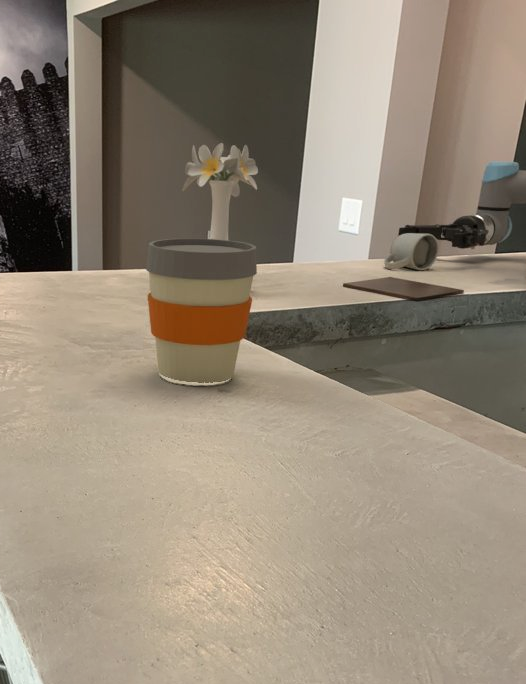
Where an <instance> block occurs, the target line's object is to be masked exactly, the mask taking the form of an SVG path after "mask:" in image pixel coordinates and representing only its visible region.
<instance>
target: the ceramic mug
mask: <svg viewBox="0 0 526 684" xmlns="http://www.w3.org/2000/svg"><path fill="white" fill-rule="evenodd" d="M438 253H439V243H438V240H437V239H436V238H435V237H434V236H433V235H431V234H415V233H406V234H402V235H399V236H398V235H397V236H396V237H395V238H394V240H393V241H392V243H391V246H390V251H389V254H390V255H388V256H386V257H385V258H384V260H383V264H384V267H385V269H387V270H397V269H402V268H408V269H411V270H416V271H426V270H428V269H430V267H432V266H433V265H434V264H435V262H436V259H437V257H438Z"/></svg>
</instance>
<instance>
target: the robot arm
mask: <svg viewBox="0 0 526 684" xmlns="http://www.w3.org/2000/svg"><path fill="white" fill-rule="evenodd" d="M512 204H524V205H526V170H523V169H520V165H519V163H518V162H516V161H498V160H497V161H495V160H494V161H493V160H492V161H489V162H488V163H487V164H486V166H485V170H484V172H483V176H482V180H481V186H480V194H479V197H478V204H477V208H476V211H475V212H476V213H475V214H471V215H463V216H460V217H458V218H456V219H455V220H454V221H453V222H452V223H449V224H438V223H437V224H405V226H404V227H399V229H398V234H397V237H398V236H399V235H402V234H406V233H415V234H431V235H433V236H434V237H435V238H436V240H437V241H448V242H450V243H451V247H452V248H457V249H461V250H462V249H465V250H466V249H470V250H475V248H477V247H483V246H492V245H496V244H499V243H501V242H503V241H505V240H506V239H507V238H508V237H509V236H510V235H511V233H512V230H513V222H512V219H511V217H510V216H509V213H510V209H511V205H512Z"/></svg>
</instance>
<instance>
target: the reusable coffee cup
mask: <svg viewBox="0 0 526 684" xmlns="http://www.w3.org/2000/svg"><path fill="white" fill-rule="evenodd" d="M257 264H258V263H257V246H256V245H254V244H251V243H249V242H244V241H237V240H219V239H209V238H194V237H193V238H188V237H187V238H185V237H184V238H165V239H157V240H152V241H150V242H149V243H148V249H147V255H146V265H145V270H146V271H147V272H148V277H149V287H150V292H149V293H148V294H147V304H148V312H149V313H148V314H149V324H150V333H151V335H152V336H153V337H154V339H155V349H156V360H157V361H156V362H157V371H159V372H158V374H159V373H160V374H161V375H163V376H165V377H168V378H171V379H174V380H179V381H186V382H198V383H204V382H205V383H209V382H210V383H213V382H222V381H226V380H228V379H230V378H232V377H233V378H232V380H233V379H234V374H235V370H236V364H237V361H238V360H237V359H238V355H239V349H240V344H241V341H242V340H243V339H245V337H246V332H247V328H248V323H249V318H250V313H251V308H252V303H253V297H252V296H250V294H251V290H252V285H253V281H254V280H253V279H254V276H256V275H257V273H258V270H257V269H258V268H257V267H258V265H257ZM162 380H164V379H162ZM232 380H230V381H228V382H226V383H223V384H218V385H217V386H220V385H225V384H227V383H230V382H231V381H232ZM164 381H165V382H168V383H171V384H175V385H179V386H183V385H182V384H177V383H173V382H169V381H166V380H164ZM185 386H188V387H192V386H191V385H185ZM214 386H216V385H209V386H208V387H214Z"/></svg>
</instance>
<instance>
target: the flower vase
mask: <svg viewBox="0 0 526 684" xmlns="http://www.w3.org/2000/svg"><path fill="white" fill-rule="evenodd" d="M224 150H225V149H224V143H223V142H220V143H218V144H217V145H216V146H215V147H214V149H213V151H212V153H211V151H210V149H209V147H208V146H207V145H206V144H202V145H200V147H199V148H198V153H197V152H196V147H195V145H194V144H193V145H192V149H191V160H192V162H191V161H188V162H187V163H186V164H185V167H184V174H185V175H186V176H188V177H187V179H186V180H185V181H184V184H183V187H182V190H181V192H182V193H183V192H184V191H185V190H186V189H187V188H188V187H189V186H190V185H191V184H192V183H193V182H194V181H195V180H196V184H197V185H198V186H199V187H201V188H202V187H204V186H205V185H206V184H207V182H208V183H209V186H210V192H211V201H212V202H211V205H212V206H211V219H210V231H209V237H208V239H219V240H229V212H230V203H231V196H233V197H234V198H237V197H239V196H240V195H241V194H240V193H241V188H240V185H239V181H242V182H243V183H245V184H247V185H249V186H251V187H252V188H253V189H255V190H256V191H257V190H258V185H257V183H256V181H255V179H254V178H253V177H252V176H255V175H257V174H258V173H259V169H258V166H257V165H256V160H255V159H254V158H249V157H250V155H249V153H250V152H249V147H248V145H247V144H245V145H244V146H243V149H242V151H241V150H240V148H238V147H237V145H236V144H235V145H232V146H231V147H230V153H229V155H227V156H223V153H224ZM197 155H198V156H197ZM198 158H199V159H198ZM199 160H200V161H199ZM215 178H217V179H215Z"/></svg>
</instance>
